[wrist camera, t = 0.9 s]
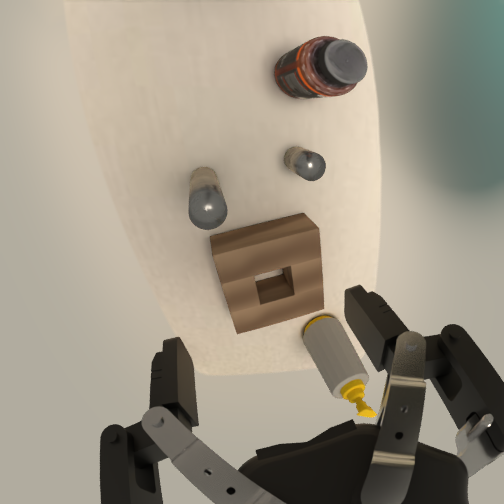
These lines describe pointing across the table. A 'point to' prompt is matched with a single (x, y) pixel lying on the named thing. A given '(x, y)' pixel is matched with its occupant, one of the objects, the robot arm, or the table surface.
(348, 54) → the supplement bottle
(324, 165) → the short pin
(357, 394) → the soap bottle
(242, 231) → the guide block
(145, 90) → the table surface
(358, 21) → the table surface
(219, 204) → the tall pin
